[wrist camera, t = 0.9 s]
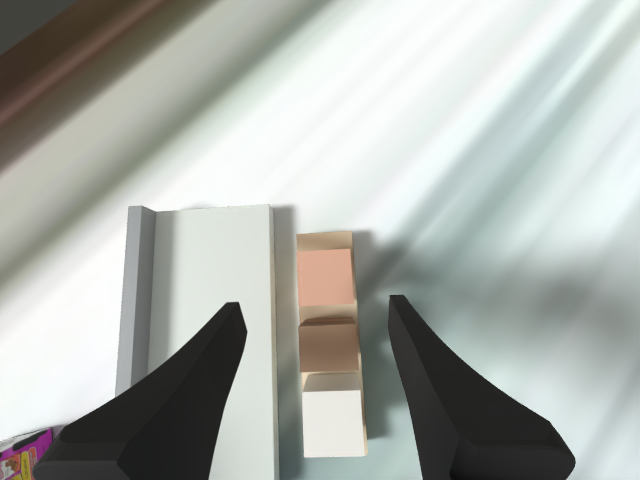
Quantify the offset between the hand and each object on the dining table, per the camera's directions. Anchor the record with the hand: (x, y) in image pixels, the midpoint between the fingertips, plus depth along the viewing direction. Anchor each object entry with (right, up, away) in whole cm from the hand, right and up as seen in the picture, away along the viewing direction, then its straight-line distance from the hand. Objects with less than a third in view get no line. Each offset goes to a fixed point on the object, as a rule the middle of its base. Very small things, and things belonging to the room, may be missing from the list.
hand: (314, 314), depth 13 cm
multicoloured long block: (+1, -5, +13) cm, 14 cm away
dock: (-10, -6, +13) cm, 17 cm away
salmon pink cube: (+1, 0, +11) cm, 11 cm away
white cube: (+1, -9, +9) cm, 13 cm away
